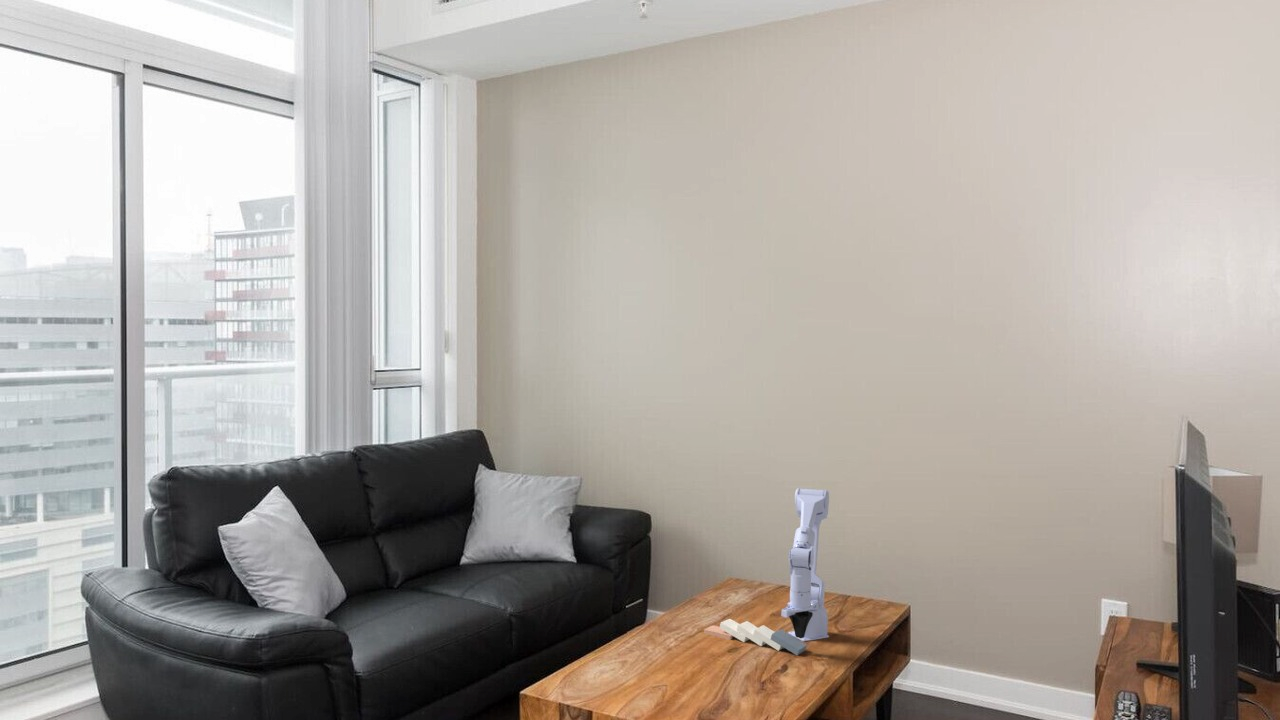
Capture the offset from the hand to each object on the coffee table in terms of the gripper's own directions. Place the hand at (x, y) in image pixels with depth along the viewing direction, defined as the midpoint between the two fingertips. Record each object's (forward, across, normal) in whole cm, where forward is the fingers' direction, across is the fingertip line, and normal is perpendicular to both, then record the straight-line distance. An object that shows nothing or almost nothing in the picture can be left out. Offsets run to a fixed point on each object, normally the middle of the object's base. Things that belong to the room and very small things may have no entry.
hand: (799, 637), depth 265 cm
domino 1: (+4, +5, -20) cm, 21 cm away
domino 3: (+4, +2, -10) cm, 11 cm away
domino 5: (+3, 0, +1) cm, 4 cm away
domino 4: (+4, +1, -5) cm, 6 cm away
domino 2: (+4, +3, -16) cm, 17 cm away
